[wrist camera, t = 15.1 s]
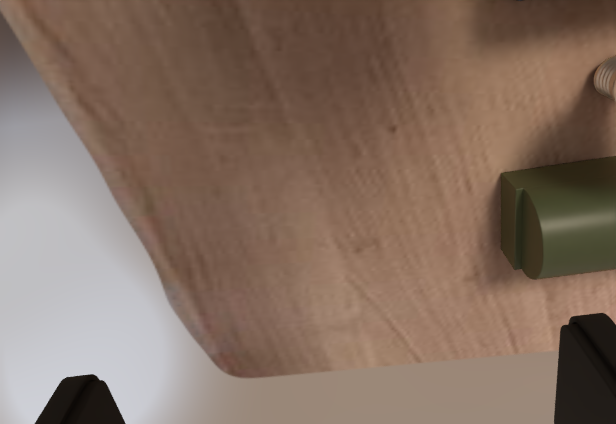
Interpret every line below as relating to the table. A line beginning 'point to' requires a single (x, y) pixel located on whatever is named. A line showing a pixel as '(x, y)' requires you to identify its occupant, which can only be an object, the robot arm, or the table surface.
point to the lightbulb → (606, 78)
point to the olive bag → (560, 218)
